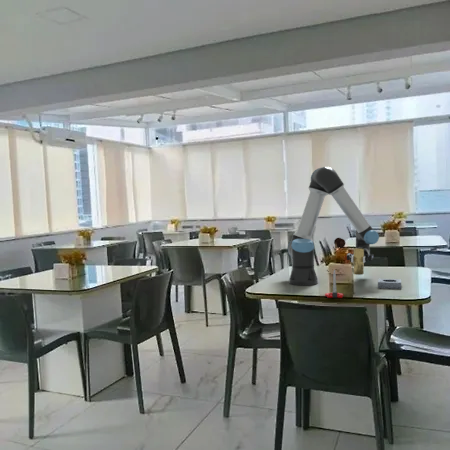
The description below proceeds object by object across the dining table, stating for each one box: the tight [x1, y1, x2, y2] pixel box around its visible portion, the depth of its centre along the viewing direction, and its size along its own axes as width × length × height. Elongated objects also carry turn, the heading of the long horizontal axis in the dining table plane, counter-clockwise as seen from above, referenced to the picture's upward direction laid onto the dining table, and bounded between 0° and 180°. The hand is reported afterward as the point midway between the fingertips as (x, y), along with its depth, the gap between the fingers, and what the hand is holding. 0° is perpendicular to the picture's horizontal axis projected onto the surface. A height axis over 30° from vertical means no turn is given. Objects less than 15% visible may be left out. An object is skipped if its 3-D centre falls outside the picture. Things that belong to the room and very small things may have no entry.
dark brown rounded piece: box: [333, 237, 346, 249], centre depth 298 cm, size 15×15×20 cm
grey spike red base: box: [324, 269, 344, 299], centre depth 224 cm, size 8×13×9 cm
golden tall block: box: [353, 247, 365, 276], centre depth 245 cm, size 5×5×13 cm
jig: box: [377, 278, 402, 290], centre depth 242 cm, size 11×10×3 cm
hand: (357, 259), depth 240 cm, fingers closed on golden tall block, 5 cm apart
